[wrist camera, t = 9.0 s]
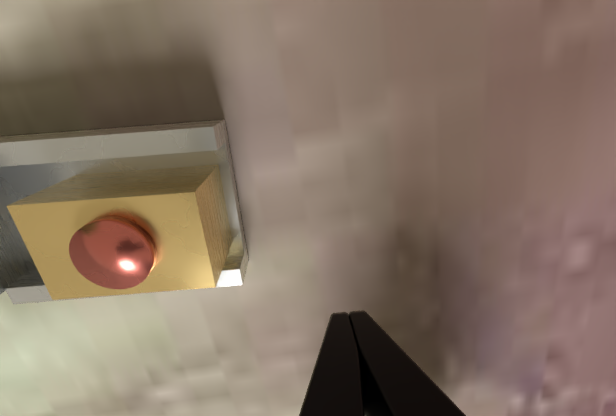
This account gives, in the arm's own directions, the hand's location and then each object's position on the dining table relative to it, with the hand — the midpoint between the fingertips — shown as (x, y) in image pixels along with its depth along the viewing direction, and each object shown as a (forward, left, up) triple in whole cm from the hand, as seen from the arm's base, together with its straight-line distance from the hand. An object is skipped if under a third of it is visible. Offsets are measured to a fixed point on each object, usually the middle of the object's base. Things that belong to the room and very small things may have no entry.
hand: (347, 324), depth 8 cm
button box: (+8, 0, -9) cm, 12 cm away
